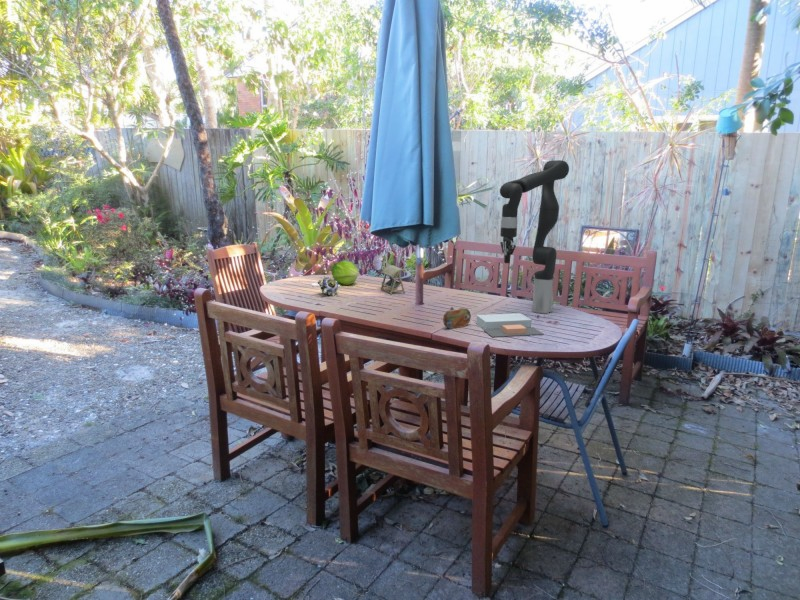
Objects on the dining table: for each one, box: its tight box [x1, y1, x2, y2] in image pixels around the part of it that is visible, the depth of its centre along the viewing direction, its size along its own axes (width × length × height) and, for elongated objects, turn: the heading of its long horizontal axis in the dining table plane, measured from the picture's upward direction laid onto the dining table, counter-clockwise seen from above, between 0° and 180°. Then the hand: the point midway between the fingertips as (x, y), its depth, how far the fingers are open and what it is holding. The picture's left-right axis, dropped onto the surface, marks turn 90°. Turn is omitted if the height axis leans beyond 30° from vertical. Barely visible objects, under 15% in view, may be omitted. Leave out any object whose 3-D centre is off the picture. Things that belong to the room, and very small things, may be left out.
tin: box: [442, 307, 472, 330], centre depth 245 cm, size 15×3×8 cm, turn 126°
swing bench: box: [380, 264, 406, 296], centre depth 315 cm, size 15×10×15 cm, turn 27°
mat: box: [483, 327, 545, 339], centre depth 238 cm, size 24×10×1 cm, turn 102°
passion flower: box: [317, 275, 341, 297], centre depth 306 cm, size 13×12×14 cm
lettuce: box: [331, 260, 360, 286], centre depth 334 cm, size 15×23×16 cm
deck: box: [475, 312, 532, 331], centre depth 249 cm, size 22×12×4 cm, turn 102°
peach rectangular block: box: [502, 324, 527, 335], centre depth 237 cm, size 9×6×2 cm, turn 102°
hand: (506, 262), depth 257 cm, fingers closed
